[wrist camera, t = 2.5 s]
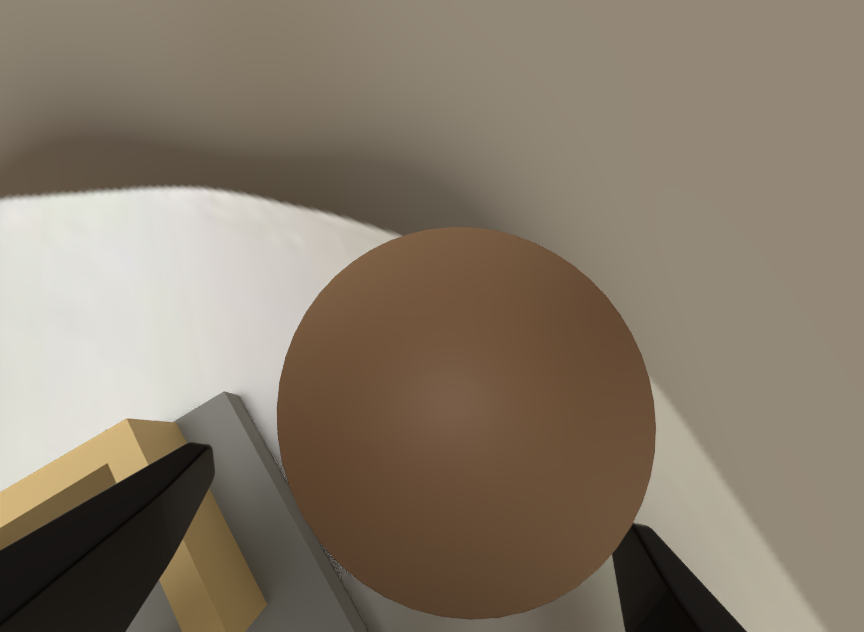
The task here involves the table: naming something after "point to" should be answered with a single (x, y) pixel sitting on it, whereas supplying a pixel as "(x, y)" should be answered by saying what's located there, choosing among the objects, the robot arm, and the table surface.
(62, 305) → the table surface
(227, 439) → the bracket board
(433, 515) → the walnut post
